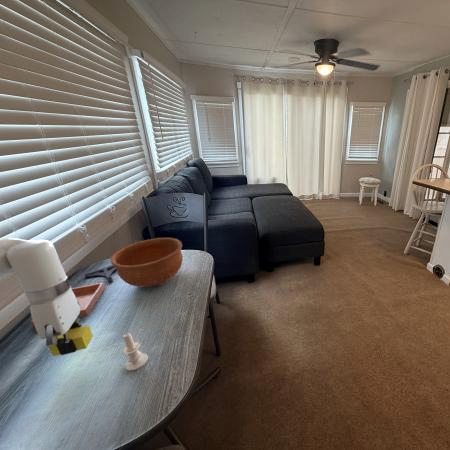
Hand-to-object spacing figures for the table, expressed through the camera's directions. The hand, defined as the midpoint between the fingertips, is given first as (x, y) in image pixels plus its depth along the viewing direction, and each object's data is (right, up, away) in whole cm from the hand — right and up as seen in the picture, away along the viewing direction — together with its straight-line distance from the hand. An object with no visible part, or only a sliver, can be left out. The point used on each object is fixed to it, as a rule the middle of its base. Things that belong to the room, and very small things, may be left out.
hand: (73, 344), depth 65 cm
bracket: (-23, +10, +40) cm, 48 cm away
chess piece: (+17, -5, 0) cm, 18 cm away
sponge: (0, 0, 0) cm, 0 cm away
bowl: (+1, +8, +36) cm, 37 cm away
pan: (-21, +3, +22) cm, 31 cm away
